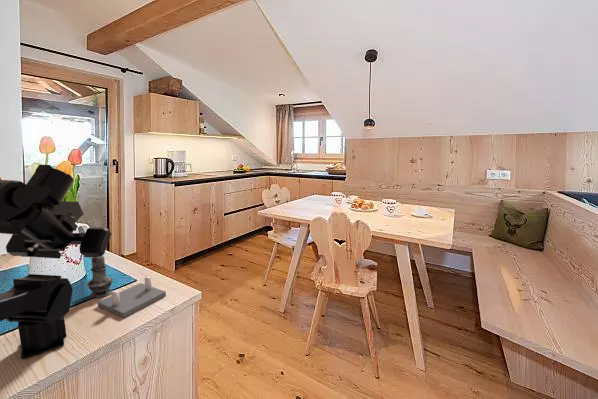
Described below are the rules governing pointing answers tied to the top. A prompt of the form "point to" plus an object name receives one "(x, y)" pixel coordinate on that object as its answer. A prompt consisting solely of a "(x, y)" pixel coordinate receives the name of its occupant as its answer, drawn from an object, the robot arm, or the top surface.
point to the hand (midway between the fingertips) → (80, 256)
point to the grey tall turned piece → (99, 280)
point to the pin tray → (131, 298)
